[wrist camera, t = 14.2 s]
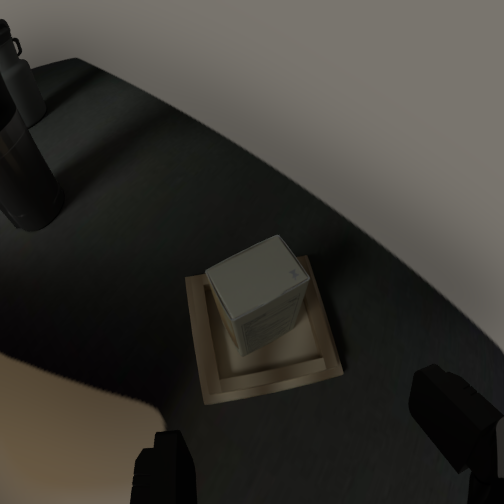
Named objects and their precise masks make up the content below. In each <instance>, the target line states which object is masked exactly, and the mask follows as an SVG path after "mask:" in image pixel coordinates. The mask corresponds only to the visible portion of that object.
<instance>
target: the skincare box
mask: <svg viewBox="0 0 504 504" xmlns="http://www.w3.org/2000/svg"><path fill="white" fill-rule="evenodd" d="M205 273H206V276H207V279H208V282H209V285H210V287H211V290H212V294H213V296H214V299H215V302H216V305H217V308H218V311H219V314H220V317H221V319H222V322H223V325H224V327H225V329H226V331H227V332H228V334H229V336H230V338H231V340H232V342H233V344H234V345H235V347H236V349H237V351H238V352H239V354H240V356H242V357H244V356H246V355H248V354H250V353H252V352H254V351H256V350H258V349H260V348H262V347H263V346H265V345H267V344H269V343H271V342H272V341H274V340H276V339H277V338H279V337H281V336H283V335H284V334H286V333H287V332H289V331H291V330H292V329H293V328H294V325H295V322H296V319H297V316H298V314H299V311H300V308H301V305H302V302H303V299H304V296H305V293H306V289H307V286H308V283H309V280H310V277H309V276H308V274H307V273H306V271H305V270H304V268H303V267H302V265H301V264H300V262H299V261H298V260H297V258H296V257H295V255H294V254H293V252H292V251H291V250H290V248H289V247H288V246H287V244H286V243H285V242H284V241H283V240H282V238H281V237H280V236H279V235H276V236H273V237H271V238H269V239H266V240H264V241H262V242H260V243H258V244H255V245H253V246H251V247H249V248H247V249H245V250H243V251H241V252H239V253H237V254H235V255H233V256H231V257H230V258H228V259H226V260H224V261H222V262H220V263H218V264H216V265H215V266H213V267H211V268H209V269H207V270H206V271H205Z"/></svg>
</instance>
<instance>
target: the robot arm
mask: <svg viewBox="0 0 504 504" xmlns="http://www.w3.org/2000/svg"><path fill="white" fill-rule="evenodd" d="M63 202H64V192H63V190H62V189H61V187H60V185H59V183H58V182H57V180H56V179H55V177H54V175H53V173H52V172H51V170H50V168H49V167H48V165H47V163H46V161H45V160H44V158H43V156H42V154H41V153H40V151H39V149H38V147H37V145H36V144H35V142H34V140H33V138H32V136H31V134H30V132H29V130H28V129H27V127H26V125H25V123H24V121H23V119H22V117H21V115H20V113H19V111H18V109H17V107H16V105H15V103H14V101H13V99H12V97H11V95H10V93H9V91H8V89H7V86H6V84H5V82H4V80H3V77H2V75H1V72H0V210H1V211H2V212H3V213H4V214H5V216H6V217H7V218H8V219H9V220H10V222H11V223H12V224H13V225H14V226H15V227H16V228H22V229H24V230H25V231H36V230H39V229H41V228H43V227H44V226H46V225H47V224H49V223H50V222H51V221H52V220H53V219H54V218H55V217H56V215H57V214H58V213H59V211H60V209H61V207H62V205H63ZM408 405H409V411H410V413H411V415H412V417H413V418H414V419H415V421H416V422H417V423H418V424H419V426H420V427H421V428H422V429H423V431H424V432H425V433H426V434H427V435H428V437H429V438H430V439H431V440H432V442H433V443H434V444H435V445H436V447H437V448H438V449H439V450H440V452H441V453H442V454H443V455H444V457H445V458H446V459H447V460H448V462H449V463H450V464H451V465H452V467H453V468H454V469H455V470H456V472H457V473H458V474H460V473H461V472H463V471H464V470H466V469H468V468H470V470H471V471H472V472H471V474H470V479H469V491H468V501H467V504H504V415H503V414H502V413H501V412H499V411H498V410H497V409H496V408H495V407H494V406H493V405H492V404H491V403H490V402H488V401H487V400H486V399H485V398H484V397H483V396H482V395H481V394H480V393H477V391H476V390H475V389H474V388H473V387H472V386H471V387H470V384H468V383H467V382H466V381H465V380H464V379H463V378H462V377H460V376H458V375H455V374H453V373H451V372H447V373H446V372H445V371H443V370H442V369H441V368H440V367H439V366H438V365H436V364H432V365H430V366H427V367H425V368H423V369H420V370H418V371H416V372H415V373H414V376H413V382H412V387H411V392H410V397H409V403H408ZM132 485H133V487H132V491H131V499H130V504H197V491H196V472H195V466H194V462H193V459H192V456H191V454H190V452H189V449H188V447H187V445H186V443H185V440H184V438H183V436H182V434H181V432H180V430H174V431H164V432H156V434H155V439H154V448H144V449H143V450H142V451H141V453H140V454H139V456H138V457H137V459H136V461H135V467H134V476H133V482H132Z"/></svg>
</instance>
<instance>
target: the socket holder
mask: <svg viewBox="0 0 504 504" xmlns="http://www.w3.org/2000/svg"><path fill="white" fill-rule="evenodd" d="M296 258H297V260H298V261H299V262H300V264H301V265H302V267H303V268H304V270H305V271H306V273H307V274H308V276H309V277H310V280H309V283H308V286H307V289H306V293H305V296H304V299H303V302H302V305H301V308H300V311H299V314H298V316H297V319H296V322H295V325H294V328H293V329H292V330H291V331H289V332H287V333H286V334H284V335H283V336H281V337H279V338H277V339H276V340H274V341H272V342H271V343H269V344H267V345H265V346H263V347H262V348H260V349H258V350H256V351H254V352H252V353H250V354H248V355H246V356H244V357H242V356H240V354H239V352H238V351H237V349H236V347H235V345H234V344H233V342H232V340H231V338H230V336H229V334H228V332H227V331H226V329H225V327H224V325H223V322H222V319H221V317H220V314H219V311H218V308H217V305H216V302H215V299H214V296H213V294H212V290H211V287H210V285H209V282H208V279H207V276H206V274H202V275H196V276H191V277H185V280H186V289H187V297H188V304H189V312H190V319H191V326H192V333H193V340H194V346H195V353H196V359H197V365H198V371H199V377H200V383H201V389H202V394H203V400H204V404H205V405H209V404H215V403H222V402H228V401H233V400H239V399H244V398H250V397H255V396H260V395H265V394H269V393H274V392H278V391H283V390H287V389H291V388H296V387H300V386H304V385H308V384H312V383H315V382H319V381H323V380H327V379H330V378H334V377H337V376H341V375H343V374H344V373H343V369H342V366H341V362H340V359H339V355H338V352H337V348H336V345H335V342H334V338H333V335H332V332H331V328H330V325H329V322H328V318H327V315H326V312H325V309H324V305H323V302H322V299H321V296H320V293H319V289H318V286H317V283H316V280H315V277H314V274H313V271H312V268H311V265H310V262H309V259H308V256H307V255H306V256H300V257H296Z"/></svg>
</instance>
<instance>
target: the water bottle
mask: <svg viewBox="0 0 504 504" xmlns="http://www.w3.org/2000/svg"><path fill="white" fill-rule="evenodd" d="M13 41H14V42H16V44H17V47H18V49H19V52H18V54H17V52H16V49H15V47H14V44H13ZM21 53H22V48H21V46H20V43H19V40H18V39H17V38H12V37H11V33H10V28H9V26H8V24H7V22H6V21H5V20H3V19H0V72H1V75H2V77H3V80H4V82H5V84H6V86H7V89H8V91H9V93H10V95H11V97H12V99H13V101H14V103H15V105H16V107H17V109H18V111H19V113H20V115H21V117H22V119H23V121H24V123H25V125H26V127H27V129H28V128H30V127H32V126H33V125H35V124H36V123H37V122H38V121H39V120H40V119H41V118H42V117H43V116H44V114H45V112H46V109H47V108H46V105H45V102H44V100H43V98H42V95H41V93H40V91H39V88H38V86H37V84H36V81H35V79H34V76H33V74H32V71H31V69H30V66H29V64H28V62H27V61H26V60H24V59H19V58H18V56H19V55H20V54H21Z"/></svg>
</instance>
